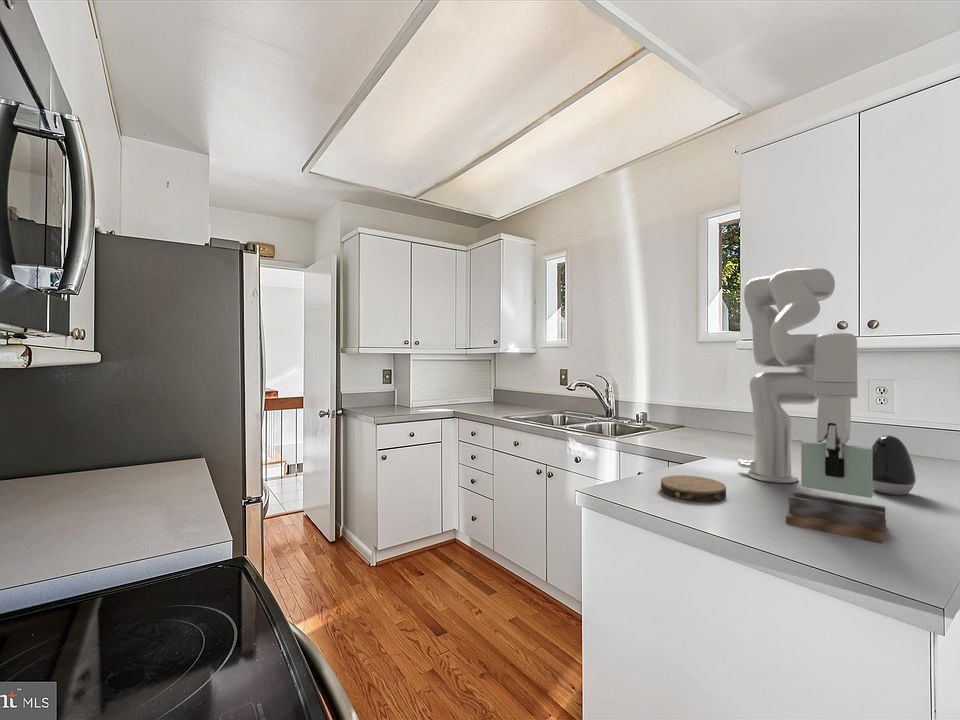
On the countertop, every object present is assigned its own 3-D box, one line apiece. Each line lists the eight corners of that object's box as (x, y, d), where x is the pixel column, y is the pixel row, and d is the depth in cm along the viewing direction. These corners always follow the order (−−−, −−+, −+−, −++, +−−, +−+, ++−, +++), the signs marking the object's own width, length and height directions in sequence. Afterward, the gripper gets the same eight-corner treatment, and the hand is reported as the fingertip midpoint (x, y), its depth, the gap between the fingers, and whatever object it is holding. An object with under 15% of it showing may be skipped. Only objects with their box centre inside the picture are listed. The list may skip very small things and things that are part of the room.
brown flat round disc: (675, 482, 135) (675, 472, 135) (734, 493, 124) (734, 482, 124) (650, 494, 124) (650, 483, 124) (713, 508, 112) (713, 495, 112)
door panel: (801, 486, 103) (801, 442, 103) (803, 484, 105) (803, 440, 105) (871, 498, 95) (871, 449, 95) (872, 495, 96) (872, 447, 96)
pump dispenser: (855, 489, 125) (855, 434, 125) (877, 485, 129) (877, 431, 129) (902, 500, 115) (901, 440, 115) (924, 495, 120) (924, 436, 119)
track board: (785, 522, 101) (785, 500, 101) (797, 509, 110) (796, 488, 110) (882, 543, 90) (882, 517, 90) (886, 526, 99) (886, 503, 99)
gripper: (820, 387, 108) (820, 466, 108) (807, 391, 96) (807, 479, 96) (861, 389, 103) (862, 471, 103) (852, 393, 91) (853, 485, 91)
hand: (835, 474), depth 100 cm, fingers closed on door panel, 2 cm apart
